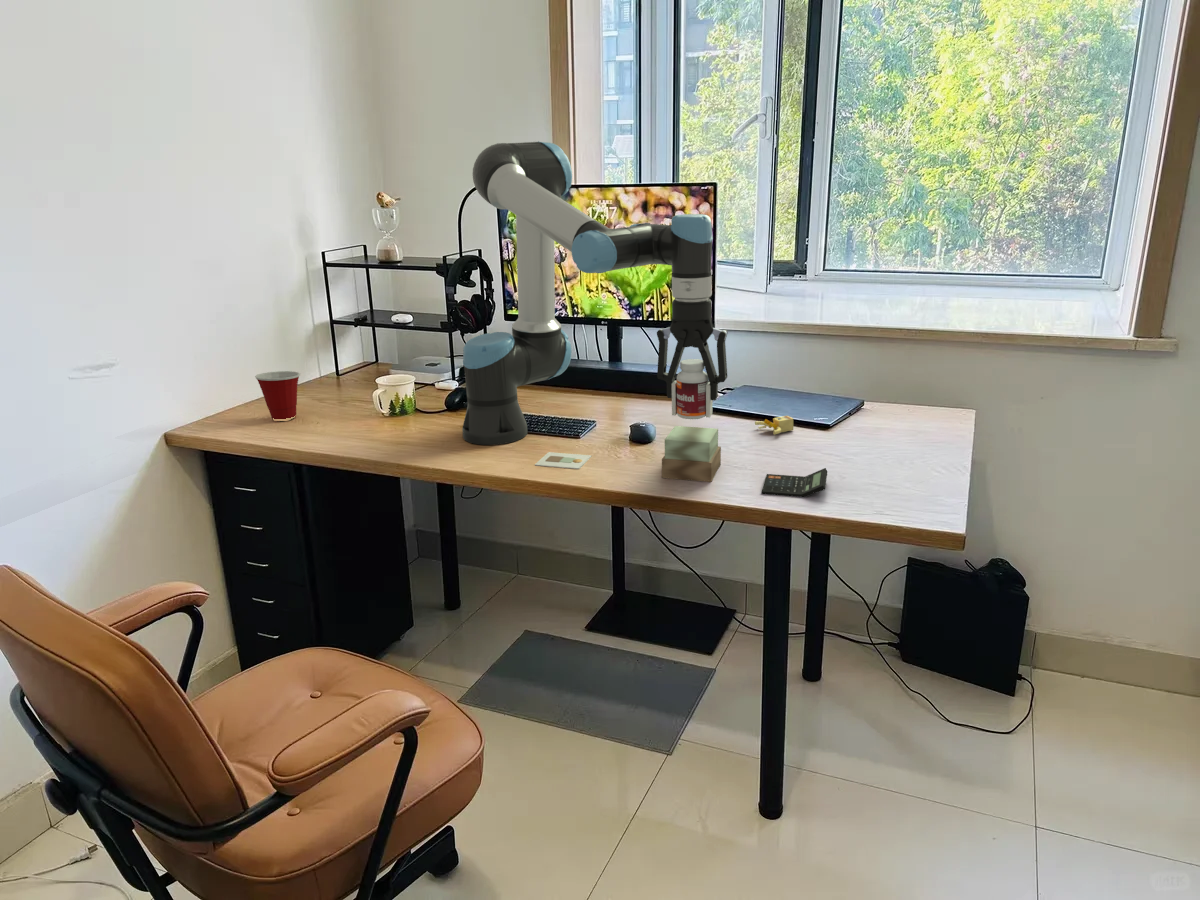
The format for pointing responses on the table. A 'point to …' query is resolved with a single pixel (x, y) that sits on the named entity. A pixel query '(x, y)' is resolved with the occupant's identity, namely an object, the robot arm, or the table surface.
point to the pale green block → (691, 454)
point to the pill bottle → (691, 389)
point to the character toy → (778, 424)
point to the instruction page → (563, 460)
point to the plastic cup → (280, 392)
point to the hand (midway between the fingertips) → (692, 414)
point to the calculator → (795, 484)
